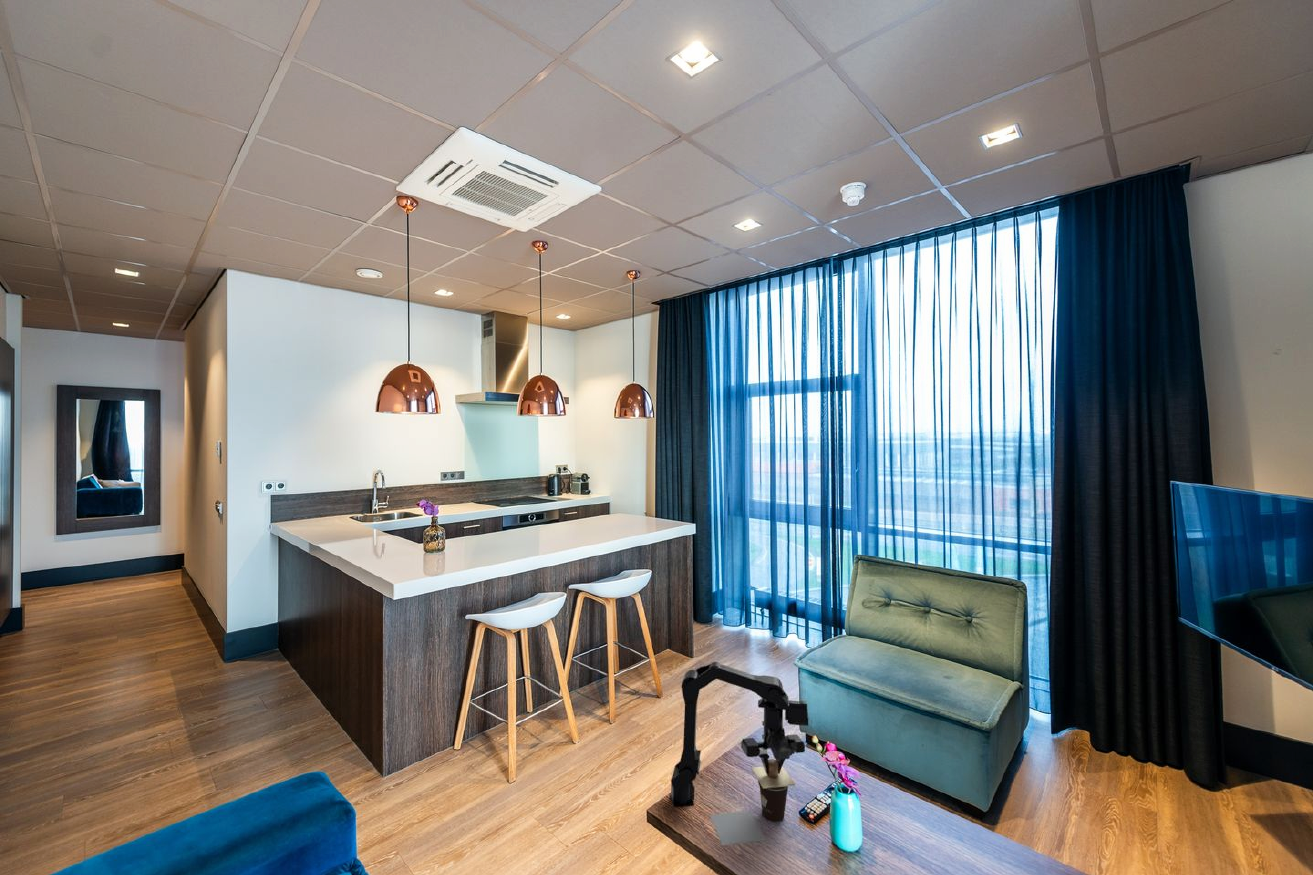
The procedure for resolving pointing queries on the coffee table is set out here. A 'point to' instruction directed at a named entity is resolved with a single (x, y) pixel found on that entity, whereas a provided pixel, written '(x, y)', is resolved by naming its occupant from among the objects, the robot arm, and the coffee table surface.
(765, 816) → the coffee mug
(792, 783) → the lid
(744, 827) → the mat
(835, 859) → the coffee table surface
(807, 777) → the coffee table surface
